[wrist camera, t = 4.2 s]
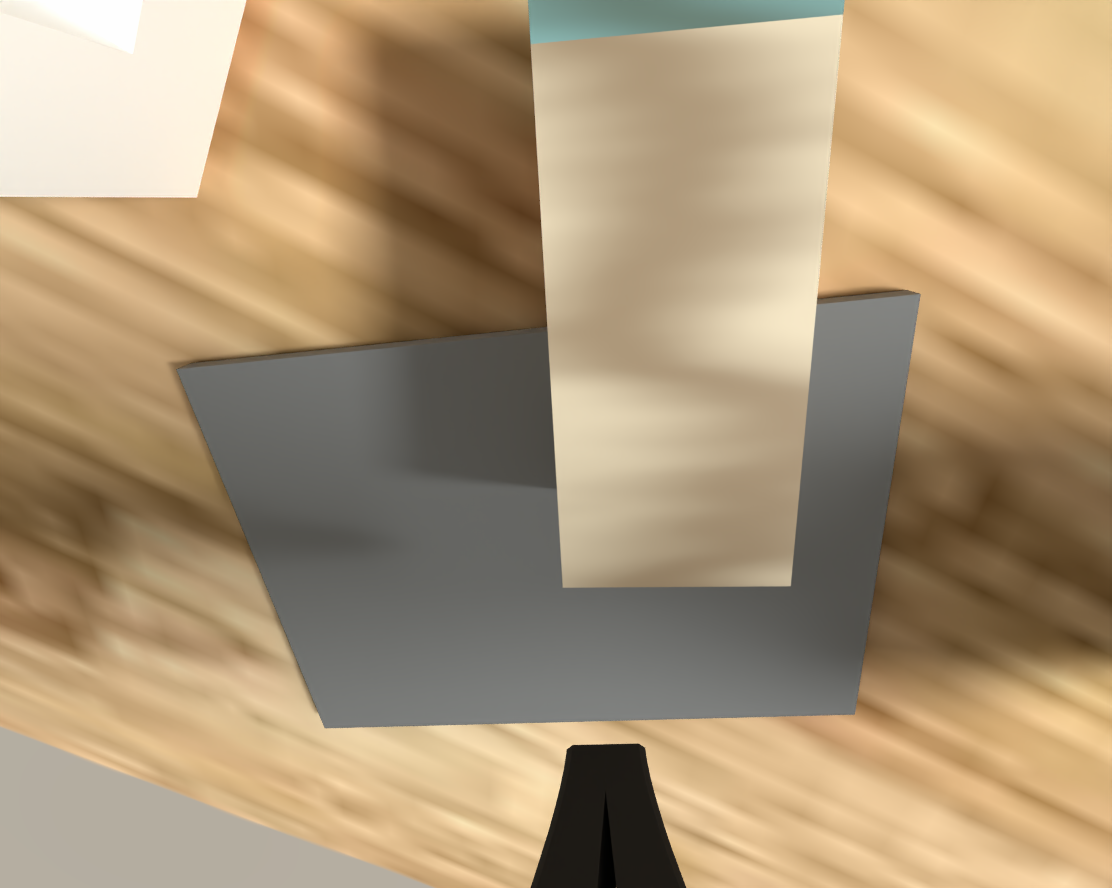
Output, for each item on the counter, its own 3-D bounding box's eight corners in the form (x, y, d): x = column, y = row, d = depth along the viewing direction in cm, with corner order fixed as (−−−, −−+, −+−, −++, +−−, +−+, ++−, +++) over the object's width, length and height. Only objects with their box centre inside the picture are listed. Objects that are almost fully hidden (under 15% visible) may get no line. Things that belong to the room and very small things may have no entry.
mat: (906, 290, 13) (920, 293, 13) (847, 699, 19) (854, 714, 18) (191, 363, 15) (176, 369, 15) (331, 714, 21) (324, 728, 20)
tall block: (735, 494, 15) (758, 50, 11) (790, 586, 10) (851, -75, 7) (572, 497, 15) (551, 68, 12) (563, 587, 11) (525, -40, 8)
